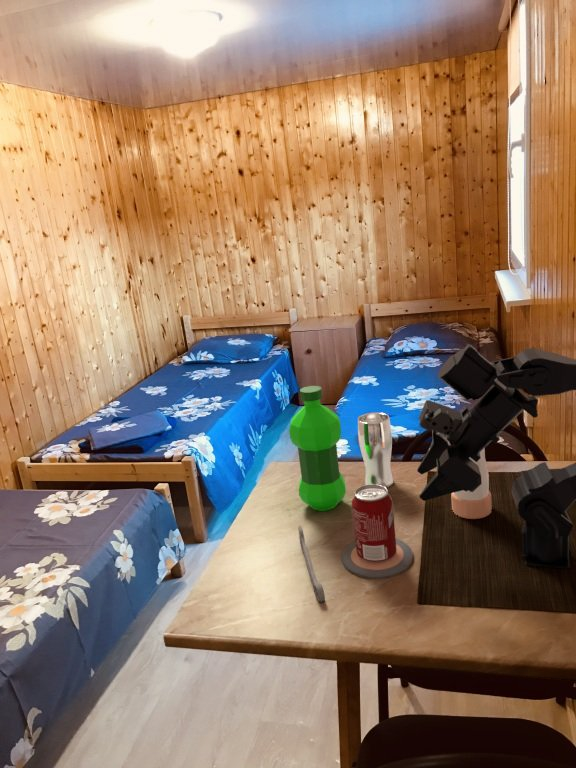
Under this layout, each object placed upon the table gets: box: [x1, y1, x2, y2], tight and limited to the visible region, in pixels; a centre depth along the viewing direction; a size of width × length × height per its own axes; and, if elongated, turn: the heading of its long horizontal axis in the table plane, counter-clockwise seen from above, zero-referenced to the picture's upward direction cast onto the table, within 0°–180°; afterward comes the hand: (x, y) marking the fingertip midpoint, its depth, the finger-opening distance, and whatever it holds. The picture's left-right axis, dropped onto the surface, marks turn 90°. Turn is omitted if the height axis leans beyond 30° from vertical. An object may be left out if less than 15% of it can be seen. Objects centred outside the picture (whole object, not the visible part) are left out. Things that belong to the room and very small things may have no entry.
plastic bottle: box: [288, 385, 347, 512], centre depth 123 cm, size 10×10×25 cm
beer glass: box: [357, 411, 394, 489], centre depth 131 cm, size 7×7×15 cm
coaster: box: [341, 538, 414, 579], centre depth 106 cm, size 12×12×1 cm
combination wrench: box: [297, 525, 326, 603], centre depth 105 cm, size 4×1×20 cm
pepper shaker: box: [450, 447, 493, 520], centre depth 115 cm, size 7×7×19 cm
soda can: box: [351, 484, 397, 563], centre depth 104 cm, size 7×7×12 cm
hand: (420, 485), depth 101 cm, fingers open, 9 cm apart
